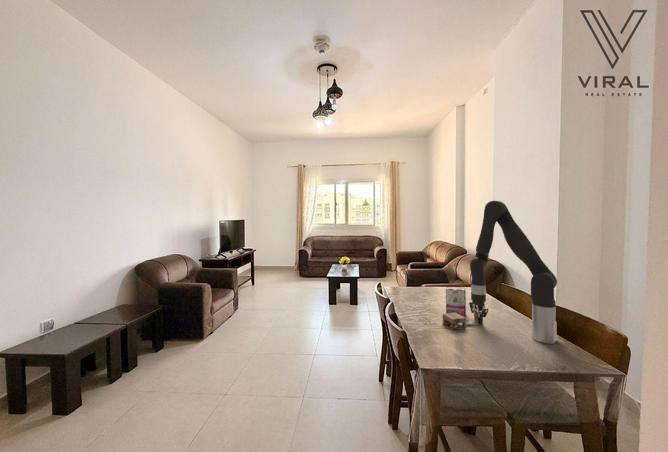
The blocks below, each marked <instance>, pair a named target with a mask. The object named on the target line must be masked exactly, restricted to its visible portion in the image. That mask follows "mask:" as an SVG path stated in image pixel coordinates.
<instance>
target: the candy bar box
mask: <svg viewBox="0 0 668 452" xmlns="http://www.w3.org/2000/svg"><path fill="white" fill-rule="evenodd" d="M466 295H467V292H466V288H462V287H448V286H446V288H445V312H446V313H457V314H459V315H461V316H463V317H465V318H466V316H467V301H466V300H467V299H466V297H467V296H466Z"/></svg>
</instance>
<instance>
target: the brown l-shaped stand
mask: <svg viewBox="0 0 668 452" xmlns="http://www.w3.org/2000/svg"><path fill="white" fill-rule="evenodd" d="M480 315H481V313H480ZM455 324H457V325H458V327H459V328H460V327H461V328H462V323H455ZM483 324H484V322H483V323H482V324H479V323H478V313H477V311H476V313H475V321H474V320H469V321H466V327H473V326H479V325H483Z"/></svg>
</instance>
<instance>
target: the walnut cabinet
mask: <svg viewBox="0 0 668 452" xmlns="http://www.w3.org/2000/svg"><path fill="white" fill-rule="evenodd" d="M466 322H467V320H466V316H465V317H463V316H461V315H459V314H457V313H442V325H444V326H447V325H450V324H451V327H450V330H451V331H455V328H454V324H455V323H462V327H461V328H462V329H463V330H465V329H466V327H467V326H466Z"/></svg>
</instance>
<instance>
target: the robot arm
mask: <svg viewBox="0 0 668 452" xmlns="http://www.w3.org/2000/svg"><path fill="white" fill-rule="evenodd" d="M483 211H484V212H483V217H482V218H483V219H482V225H481V229H480V234H479V237H478V241H477V243H476V247H475V252H476V253H475V256H474V258H472V259H471V260H470V262H469V263H470V264H469V269H470V274H471V286H470V298H471V299H470V300H471V302H469V303H468V305H469V308H470V311H471V313H472V314H473V316H474V318H473V321H475V313H476V312H477V313H478V323H479V324H481V325H483V324H484V322H483V321H484V318H487V315H488V313H489V308H487V307H486V304H485V303H486V301H487V288H486V287H487V286H486V276H485V271H484V270H485V268H486V266H487V265H488V261H489V257H490V256H489V255H490V251H491V249H492V245H493V243H494V242H493V241H494V235H495V234H494V232H495V231H494V230H495V227H496V224H498V225H499V226H500V228H501V230H502V234H503V237H504V240H505V241H506V243H507V246H508V247H509V248H510V250H511V251H512V253H513V254H514V255H515V256H516V257H517V258H518V259H519V260H520V261H521V262H522V263H523V264H524V265H526V267H527V268H528V269H529V271H530V273H531V275H532V277H531V279H530V298H531V303H532V304H531V305H532V306H531V307H532V308H531V313H532V314H531V318H532V319H531V320H532V321H531V337H532V339H533V340H534V341H537V342H539V343H542V344H543V343H544V344H550V345H551V344H552V345H555V343H556V342H557V331H558V330H557V326H558V323H557V321H556V314H557V313H556V308H557V307H556V305H557V304H556V302H557V301H556V300H555V288H556V286H557V284H558V279H557V276H556V275H555V274H554V273H553V272H552V271H551V270H550V269H549V267H548V265H546V263H545V262H544V261H543V260H542V258H541V256H540V255H539V253H538V252H537V250H536V248H535V247H534V245H533V244H532V242H531V241H530V239H529V238H528V236H527V235H526V234H525V232H524V231H523V230H522V228H520V225H519V224H517V223H516V221H515V220H514V218H513V216H512V214H511V212H510V209H508V207H507V206H506V204H505V203H504V202H502V201H500V200H490V201H488V202H487V203H486V204H485V206H484V209H483ZM480 313H481V315H480ZM482 323H483V324H482Z"/></svg>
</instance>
